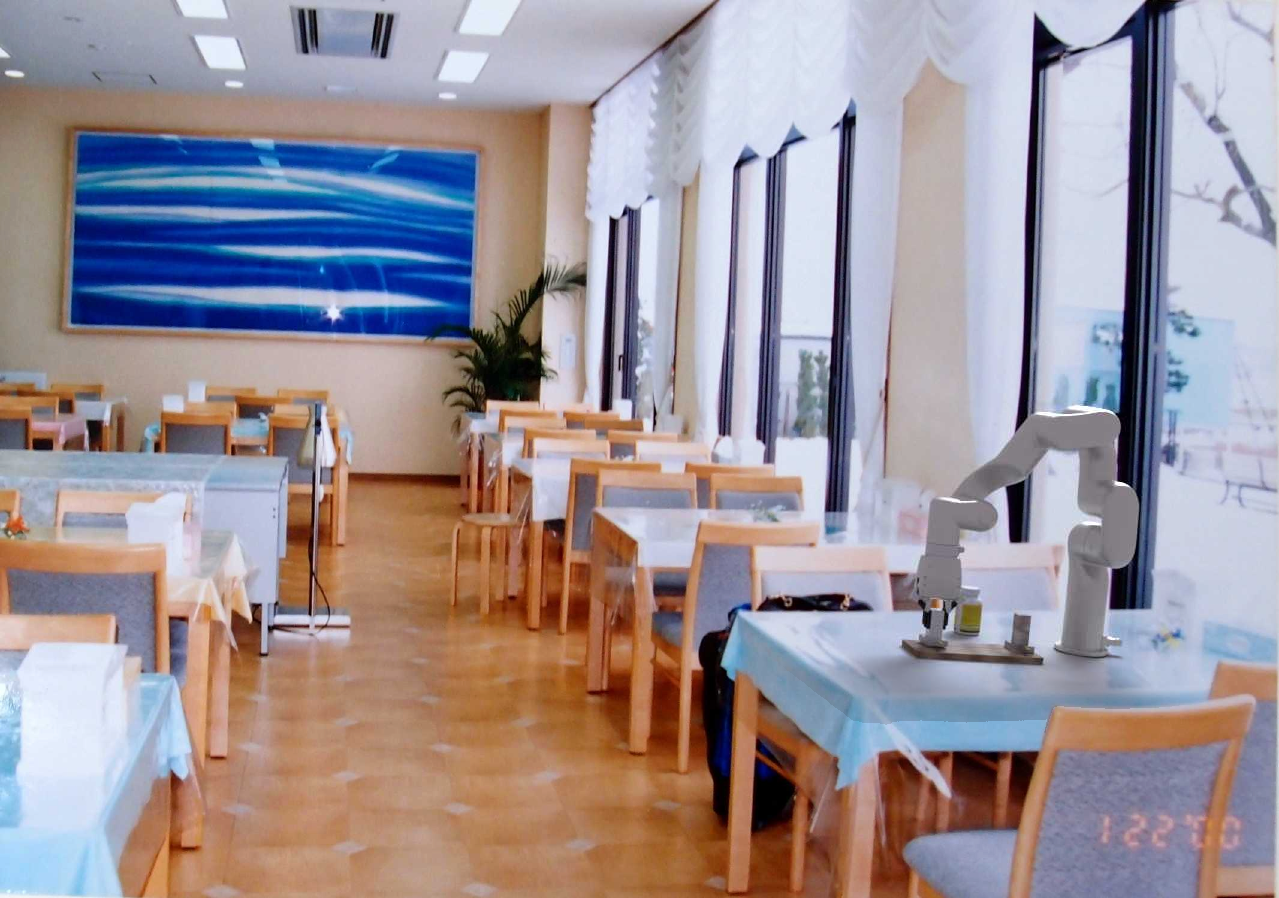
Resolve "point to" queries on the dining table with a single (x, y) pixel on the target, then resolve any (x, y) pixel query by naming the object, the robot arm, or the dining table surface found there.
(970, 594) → the pill bottle
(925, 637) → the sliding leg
